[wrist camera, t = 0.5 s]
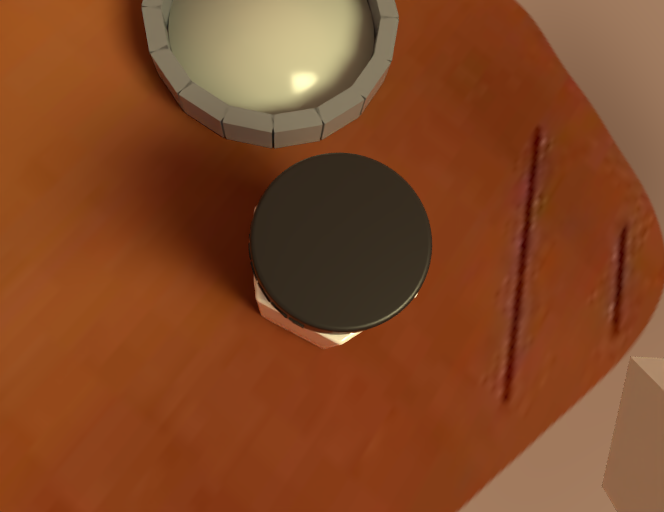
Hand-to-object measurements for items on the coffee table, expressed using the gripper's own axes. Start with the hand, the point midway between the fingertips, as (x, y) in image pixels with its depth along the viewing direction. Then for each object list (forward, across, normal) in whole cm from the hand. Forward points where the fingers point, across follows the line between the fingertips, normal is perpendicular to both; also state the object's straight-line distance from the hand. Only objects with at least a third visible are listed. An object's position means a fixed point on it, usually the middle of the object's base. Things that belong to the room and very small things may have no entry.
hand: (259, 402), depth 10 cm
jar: (+25, 0, -7) cm, 26 cm away
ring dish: (+33, -5, +8) cm, 34 cm away
